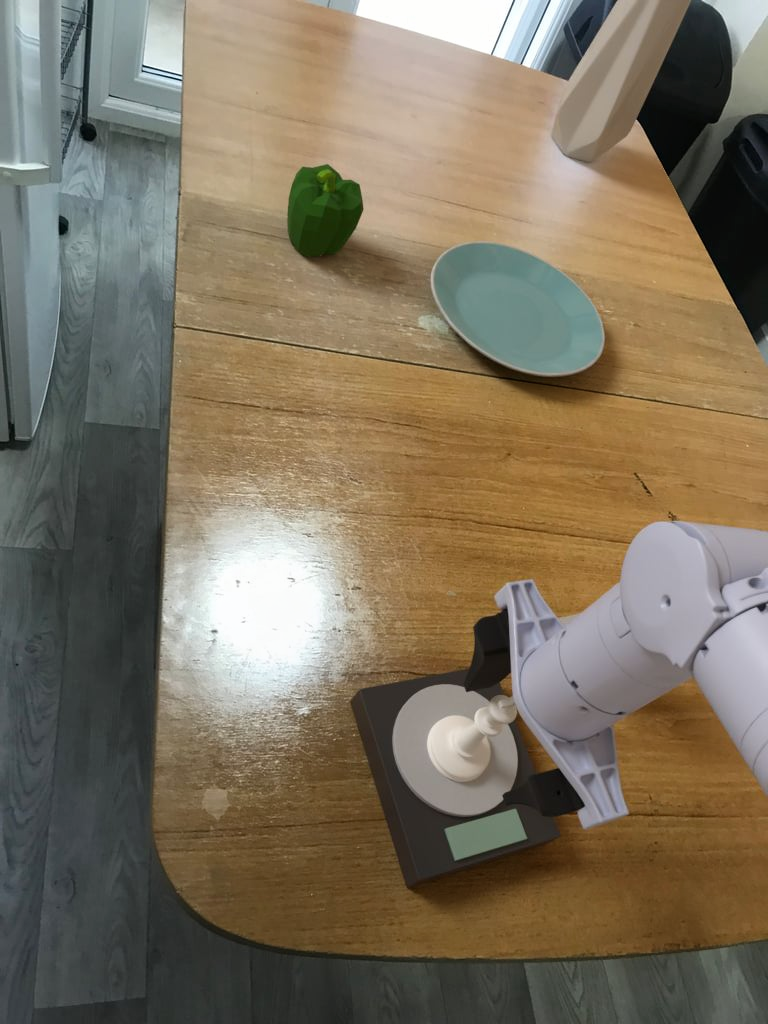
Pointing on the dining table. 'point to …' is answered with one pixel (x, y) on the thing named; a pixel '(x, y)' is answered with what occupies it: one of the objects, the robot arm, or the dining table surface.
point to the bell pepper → (322, 210)
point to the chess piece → (468, 739)
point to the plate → (517, 309)
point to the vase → (615, 76)
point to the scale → (444, 780)
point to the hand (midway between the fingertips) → (496, 739)
